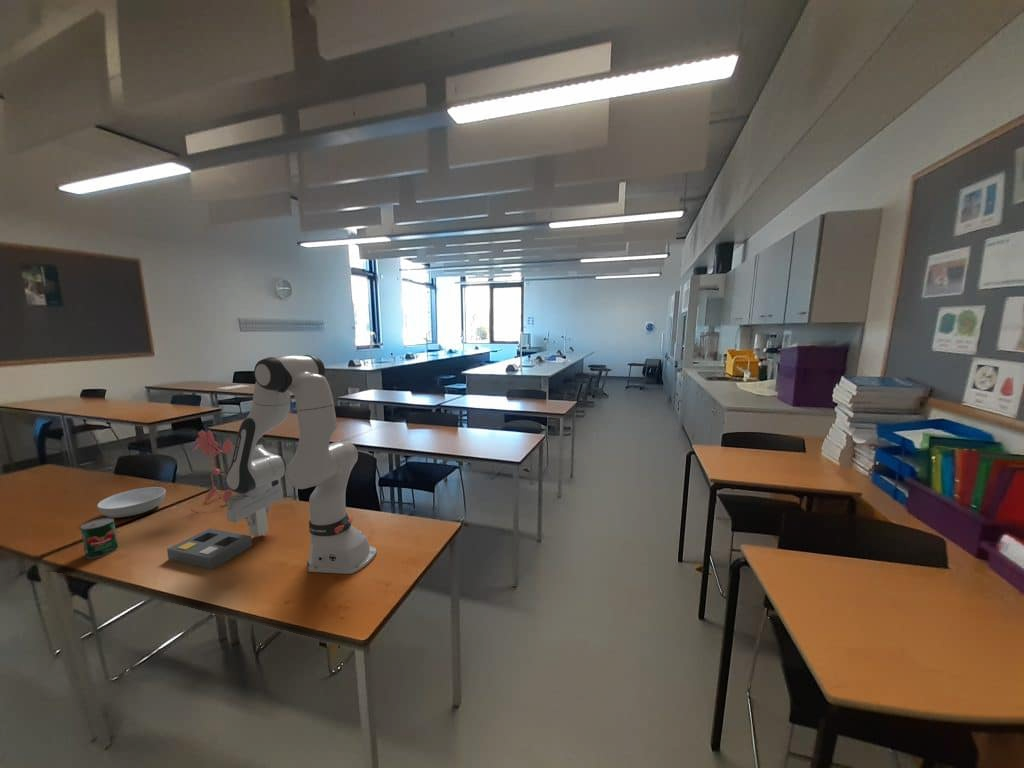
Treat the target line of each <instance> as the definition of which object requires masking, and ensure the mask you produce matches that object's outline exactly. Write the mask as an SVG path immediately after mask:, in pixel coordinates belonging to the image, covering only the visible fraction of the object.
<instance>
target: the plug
mask: <svg viewBox="0 0 1024 768" xmlns="http://www.w3.org/2000/svg"><path fill="white" fill-rule="evenodd" d="M250 519H251V520H255V522H254V523H255V524H254V525H252V526H248V527H249V534H250V535H249V536H251V537H260V536H262V535H264V534H266V533H268V532H269V525H268V517H267V515H266V507H263V508H261V509H259V510H257V511H255V513H254V514H252V515H251V518H250Z"/></svg>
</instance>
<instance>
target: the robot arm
mask: <svg viewBox="0 0 1024 768" xmlns="http://www.w3.org/2000/svg"><path fill="white" fill-rule="evenodd" d="M325 369H326V368H325V364H324V362H323V360H321V358H319V357H317V356H314V355H309V354H305V355H292V354H290V355H289V354H286V355H280V356H270V357H266V358H262V359H260V360H258V361H257V363H256V364H255V366H254V370H253V377H254V380H255V384H254V388H253V395H252V405H251V408H250V411H249V413H248V414H247V416H246V418H245V419H244V420H243V421H242V422H241V424H240V425H239V429H238V432H237V433H238V434H237V438H236V442H235V446H234V450H233V455H232V458H231V459H232V460H231V463H230V467H229V468H228V471H227V473H226V475H227V476H225V477H226V478H225V481H226V482H225V483H226V485H227V488H228V487H229V489H230V490H232V492H235V493H237V494H234V495H233V496H232V497H230V499H229V500H228V501H227V504H226V520H227V521H228V522H231V523H238V522H240V521H241V520H243V519H244V520H245V522H247V523H246V524H247V526H248V527H249V526H252V525H254V524H255V523H254V522H255V520H251V519H250V518H251V515H252V514H254V513H255V511H257V510H259V509H261V508H263V507H266V515H267V518H269V515H268V514H269V511H270V509H271V506H272V505H273V504H276V503H278V502H280V501H282V499H283V495H284V493H283V488H282V485H281V478H283V477H284V476H285V477H286V479H287V481H288V483H289V484H290V485H291V487H294V488H295V489H297V490H298V489H299V490H305V489H309V488H312V487H315V488H314V490H313V491H312V493H310V496H309V499H308V506H309V508H308V509H309V510H308V511H309V521H308V529H309V533H310V543H309V544H310V545H309V554H308V558H307V563H308V567H307V568H308V569H307V571H308V572H309V573H326V574H345V575H350V574H351V575H352V574H354V573H356V572H358V571H361V569H363V568H364V567H366V566H367V565H368V564H369V563H371V561H372V560H373V559H374V558H375V557H376V555H377V552H378V551H377V548H376V547H375V546H371V545H370V543H369V540H368V537H367V536H366V535H365V534H364V533H363V531H361V530H359V529H357V528H356V527H355V526H353V525H352V522H353V521H354V517H351V518H350V517H349V514H348V513H347V511H346V509H347V506H346V505H347V504H346V491H347V485H348V481H349V478H350V475H351V472H352V471H353V468H354V466H355V465H356V463H357V461H358V459H359V452H358V450H357V448H356V446H355V445H354V444H353V443H351V442H350V441H347V440H346V441H344V440H343V441H336V442H332V443H330V441H331V438H332V436H333V434H335V432H336V430H337V427H338V423H337V422H338V421H337V416H336V409H335V402H334V397H333V394H332V390H331V387H330V384H329V382H328V380H327V378H326V377H325V374H326V370H325ZM291 394H293V397H294V399H295V407H296V413H297V420H298V429H299V436H298V437H299V438H298V442H297V448H296V449H295V450H296V451H295V453H294V455H293V457H292V459H291V460H290V462H288V464H287V462H286V460H285V458H284V457H283V456H282V455H280V454H277V453H275V454H274V453H272V452H270V451H268V450H266V449H265V447H264V445H263V444H260V443H258V441H259V439H260V438H262V437H263V436H264V435H266V434H267V433H268V432H270V431H272V430H273V429H274V428H276V427H278V426H279V425H281V424H282V423H283V422H285V421H286V420H287V418H288V417H289V413H290V410H291Z"/></svg>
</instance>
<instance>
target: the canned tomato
mask: <svg viewBox="0 0 1024 768" xmlns="http://www.w3.org/2000/svg"><path fill="white" fill-rule="evenodd" d="M115 524H116V523H115V519H114V517H102V518H98V519H93V520H91V521H88V522H86V523H84V524H82V525H81V526H80V531H81V532H80V533H81V537H82V542H83V543H82V544H83V548H84V549H83V550H84V553H85V558H87V559H96V558H101V557H104V556H107V555H109V554H112V553H114V552H115V551H117V550H118V549H119V543H118V538H117V531H116V525H115Z"/></svg>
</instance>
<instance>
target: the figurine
mask: <svg viewBox="0 0 1024 768" xmlns="http://www.w3.org/2000/svg"><path fill="white" fill-rule="evenodd" d="M197 435H198V437H196V439H195V442H196V444H197V445H196V446H195V447H194V448H193V449H192V451H191V453H193V452H195V450H197V449H198V448H199V449H200V450H201V453H202V455H203V456H207V453H208V454H209V455H210V456H211V457H210V460H209V461H210V463H211V464H212V467H213V468H214V469H213V470H212V473H211V474H210V477H211V483H212V488H211V489H210V490H209V491H208V493H207V495H206V497H205V500H204V502H207V501H209V500H210V499H212V497H213V496H214V495H215V493H216V494H217V495H218V496H219V497H220V498H222V500H223V502H224V503H225V505H227V501H228V500H229V499H230V497H232V496H234V495H233V491H232V490H231V489H229V487H228V486H227V490H225V491H224V493H223V496H222V495H221V494H220V493H219V491H218V490H217V487H216V486H214V480H213V475H215V476H217V475H222V476H223V477H226V476H227V474H223V473H221V469H219V468H216V467H215V465H214V464H215V463H214V461H213V458H215V457H216V456H217V455H218V454H220V453H223V454H226V455H227V456H229V455H231V451H232V450H233V443H232V441H231V440H229V439H226V440H225V441H224V442H223V444H222V449H219V448H218V447H219V445H220V444H219V442H217V441H215V436H214V434H213V432H212V431H211V430H210V429H208V430H207V431H204V430H203V429H201V430H200V431H198V432H197ZM221 496H222V497H221Z"/></svg>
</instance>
